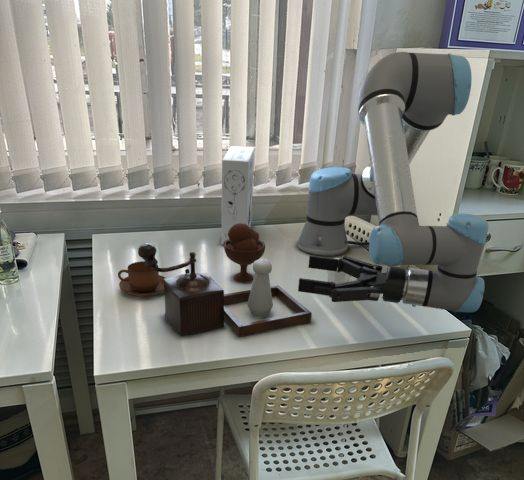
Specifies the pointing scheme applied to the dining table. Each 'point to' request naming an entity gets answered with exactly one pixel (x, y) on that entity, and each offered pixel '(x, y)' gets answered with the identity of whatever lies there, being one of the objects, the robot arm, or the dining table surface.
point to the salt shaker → (261, 289)
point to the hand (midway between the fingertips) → (303, 272)
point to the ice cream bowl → (243, 249)
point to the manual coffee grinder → (188, 296)
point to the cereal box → (237, 188)
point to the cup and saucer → (141, 280)
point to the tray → (268, 324)
